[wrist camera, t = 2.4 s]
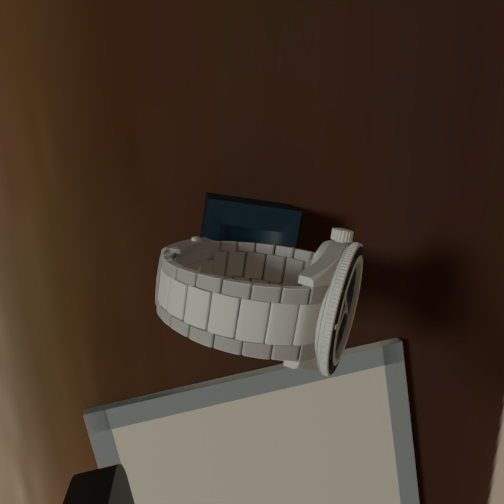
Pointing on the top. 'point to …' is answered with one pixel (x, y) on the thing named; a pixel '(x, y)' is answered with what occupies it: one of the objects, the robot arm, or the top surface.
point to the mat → (269, 436)
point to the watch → (261, 285)
